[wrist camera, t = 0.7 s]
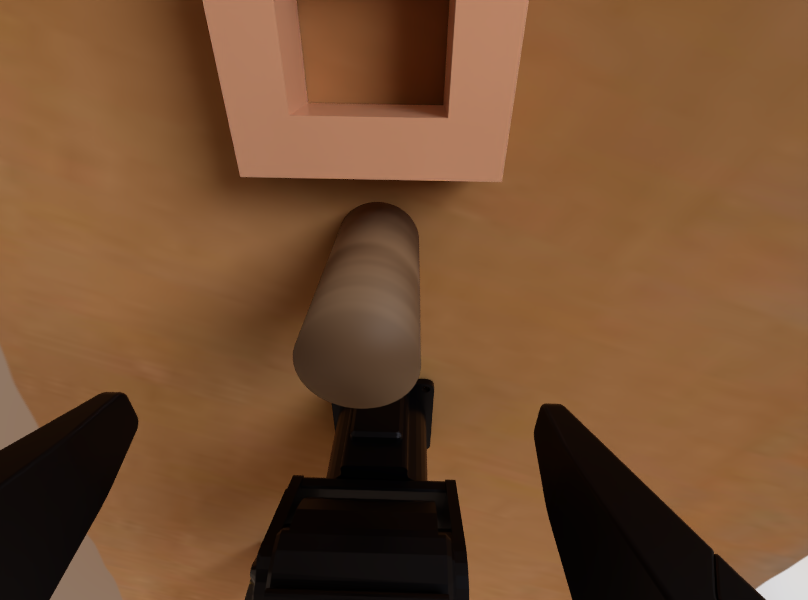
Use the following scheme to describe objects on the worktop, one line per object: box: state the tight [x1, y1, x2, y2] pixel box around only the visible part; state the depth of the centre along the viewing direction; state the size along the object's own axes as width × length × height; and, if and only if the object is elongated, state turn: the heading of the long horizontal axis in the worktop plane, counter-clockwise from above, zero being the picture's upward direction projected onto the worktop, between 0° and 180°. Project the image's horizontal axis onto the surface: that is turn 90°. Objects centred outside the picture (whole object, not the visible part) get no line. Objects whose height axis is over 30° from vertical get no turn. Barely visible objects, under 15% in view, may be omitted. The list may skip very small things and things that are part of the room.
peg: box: [293, 202, 421, 409], centre depth 16 cm, size 4×4×9 cm
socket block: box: [202, 0, 529, 182], centre depth 14 cm, size 10×10×3 cm
